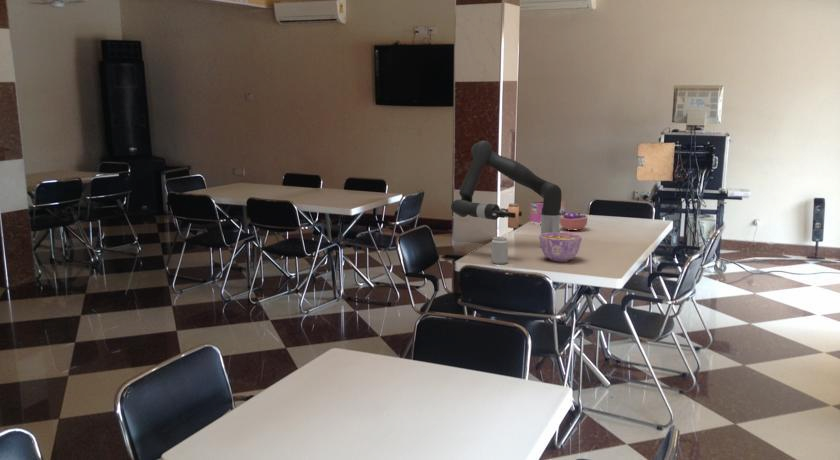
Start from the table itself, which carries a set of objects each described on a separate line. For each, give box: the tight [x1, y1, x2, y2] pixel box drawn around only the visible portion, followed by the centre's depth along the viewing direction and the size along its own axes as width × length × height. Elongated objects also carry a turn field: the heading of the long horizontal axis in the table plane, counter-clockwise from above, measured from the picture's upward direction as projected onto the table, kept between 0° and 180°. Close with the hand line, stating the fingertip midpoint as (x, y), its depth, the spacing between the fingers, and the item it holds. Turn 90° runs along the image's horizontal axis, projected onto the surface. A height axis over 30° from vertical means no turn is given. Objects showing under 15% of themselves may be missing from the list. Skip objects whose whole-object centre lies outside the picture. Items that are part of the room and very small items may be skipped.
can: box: [491, 236, 509, 265], centre depth 325 cm, size 8×8×12 cm
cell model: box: [559, 211, 588, 231], centre depth 416 cm, size 17×20×11 cm
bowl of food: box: [538, 232, 583, 263], centre depth 332 cm, size 20×20×12 cm
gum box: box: [529, 201, 567, 223], centre depth 442 cm, size 24×8×14 cm, turn 117°
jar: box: [507, 203, 520, 229], centre depth 330 cm, size 5×5×11 cm
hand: (518, 214), depth 328 cm, fingers closed on jar, 5 cm apart
